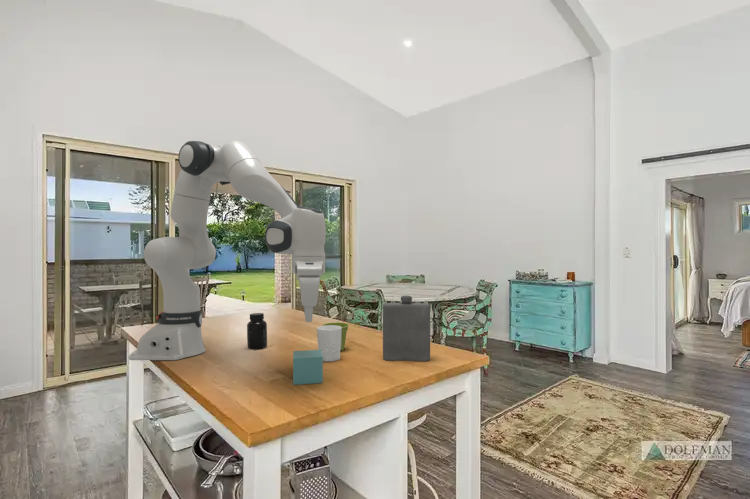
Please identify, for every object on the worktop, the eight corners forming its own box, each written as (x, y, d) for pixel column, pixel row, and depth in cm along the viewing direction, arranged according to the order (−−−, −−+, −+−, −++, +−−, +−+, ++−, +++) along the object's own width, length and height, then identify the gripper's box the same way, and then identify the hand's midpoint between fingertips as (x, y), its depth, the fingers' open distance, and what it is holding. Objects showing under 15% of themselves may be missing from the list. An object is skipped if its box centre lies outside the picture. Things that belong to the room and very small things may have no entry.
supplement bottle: (261, 344, 148) (261, 311, 148) (270, 347, 143) (270, 313, 143) (243, 347, 143) (243, 313, 143) (252, 350, 138) (252, 316, 138)
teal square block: (293, 384, 104) (293, 358, 104) (293, 375, 111) (293, 351, 111) (322, 382, 105) (322, 356, 105) (321, 373, 112) (320, 349, 112)
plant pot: (348, 353, 135) (347, 327, 135) (319, 353, 135) (319, 327, 135) (350, 346, 144) (350, 322, 144) (323, 346, 144) (323, 322, 144)
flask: (429, 357, 130) (429, 295, 130) (430, 362, 124) (430, 297, 124) (383, 355, 131) (383, 294, 131) (382, 360, 126) (382, 296, 126)
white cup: (337, 363, 123) (337, 330, 123) (313, 361, 125) (313, 329, 125) (344, 356, 131) (344, 325, 131) (321, 355, 133) (321, 324, 133)
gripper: (296, 265, 118) (296, 312, 118) (296, 269, 97) (296, 326, 98) (318, 265, 119) (317, 311, 119) (322, 269, 99) (322, 325, 99)
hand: (308, 318), depth 108 cm, fingers open, 8 cm apart
